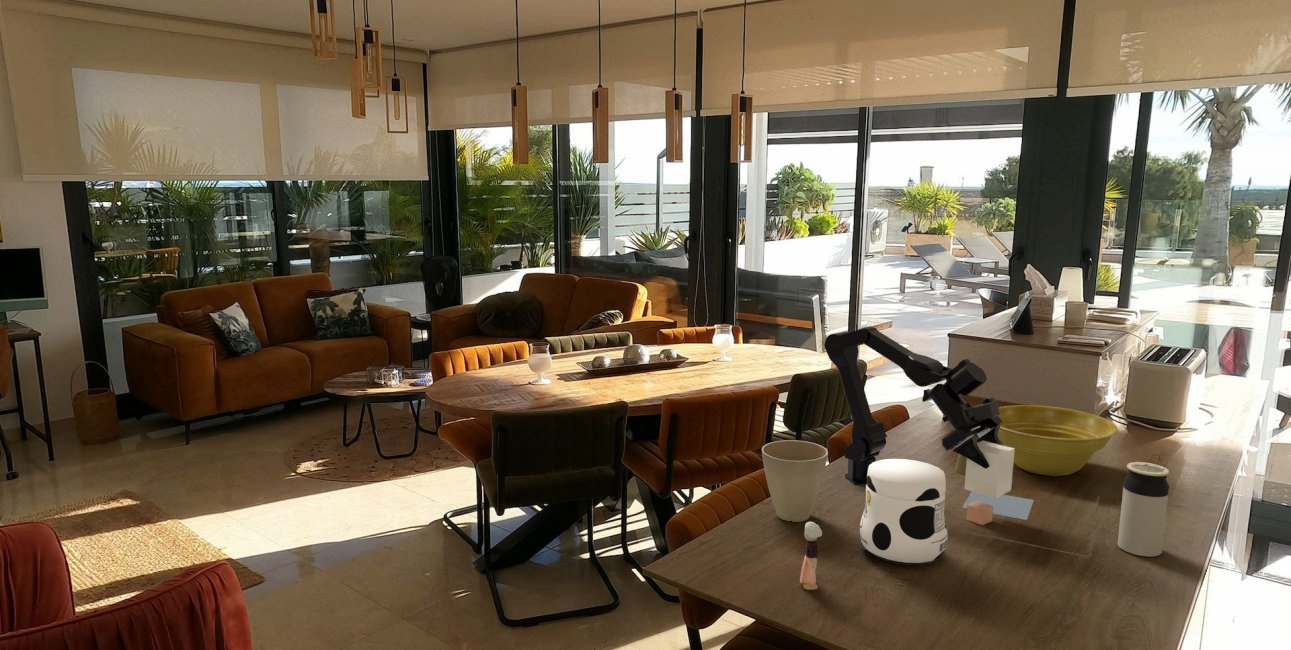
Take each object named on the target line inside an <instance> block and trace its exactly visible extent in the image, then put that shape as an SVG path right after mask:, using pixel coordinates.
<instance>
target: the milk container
mask: <svg viewBox="0 0 1291 650" xmlns="http://www.w3.org/2000/svg"><path fill="white" fill-rule="evenodd" d="M946 481H947V480H946V475H945V472H944V470H942V469H941V468H940V467H938V466H936V465H933V464H931V463H927V462H922V461H919V460H914V459H905V458H887V459H880V460H876V462H873V463H872V464H870V465H869V468H868V473H867V483H866V485H865V505H864V506H865V507H864V510H863V513H862V516H861V519H860V523H859V536H860V541H861V543H862V546H863V547H864V549H865V550H866V551H868V553H869V554H871V555H873V556H875V557H876V558H878V559H880V560H883V561H886V562H889V563H892V564H898V565H904V566H905V565H906V566H920V565H921V566H922V565H928V564H930V563H933V562H935V561H937V560H939V559H941V557H942V556H943V555H944V554H945V551H946V547H947V544H948V528H947V523H946V518H945V504H946V490H947V482H946Z"/></svg>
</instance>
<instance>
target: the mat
mask: <svg viewBox="0 0 1291 650" xmlns="http://www.w3.org/2000/svg"><path fill="white" fill-rule="evenodd" d="M976 501H979V502H982V503H985V504H988V505H991V506H993V515H998V516H1003V517H1008V518H1014V519H1019V520H1024V521H1028V518H1029V515H1030V512H1031V509H1032V507H1033V504H1034V502H1035V500H1034V499H1031V498H1024V497H1019V496H1014V495H1010V494H1009V495H1008V494H1003V495H1002V496H1000V497H998V498H993V497H989V496H986V495H983V494H979V493H976V492H972V491H970V493H969V495H968V497H967V498H966V500H965V502H964V504H963V505H962V509H965V510H967V505H968V504H971V503H973V502H976Z"/></svg>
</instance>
